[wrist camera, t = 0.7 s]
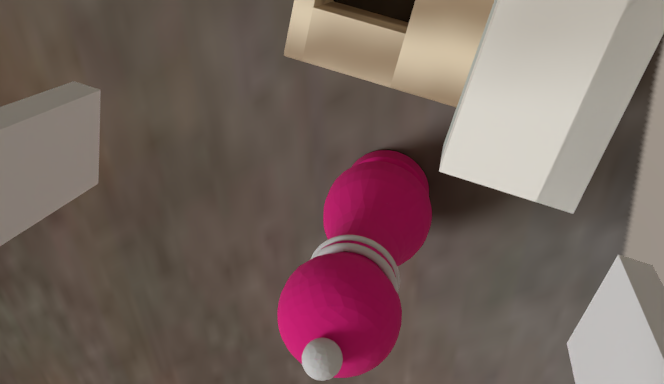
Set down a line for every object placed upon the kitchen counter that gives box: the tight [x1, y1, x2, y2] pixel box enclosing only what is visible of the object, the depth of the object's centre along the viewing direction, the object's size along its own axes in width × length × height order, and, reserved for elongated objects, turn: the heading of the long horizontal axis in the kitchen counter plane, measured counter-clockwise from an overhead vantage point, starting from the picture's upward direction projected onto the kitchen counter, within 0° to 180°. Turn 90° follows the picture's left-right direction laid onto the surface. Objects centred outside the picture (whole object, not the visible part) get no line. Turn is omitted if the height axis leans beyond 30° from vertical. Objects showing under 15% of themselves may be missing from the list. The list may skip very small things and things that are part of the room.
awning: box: [439, 0, 664, 214], centre depth 26 cm, size 12×6×16 cm, turn 166°
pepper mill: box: [278, 150, 432, 381], centre depth 31 cm, size 7×7×20 cm
